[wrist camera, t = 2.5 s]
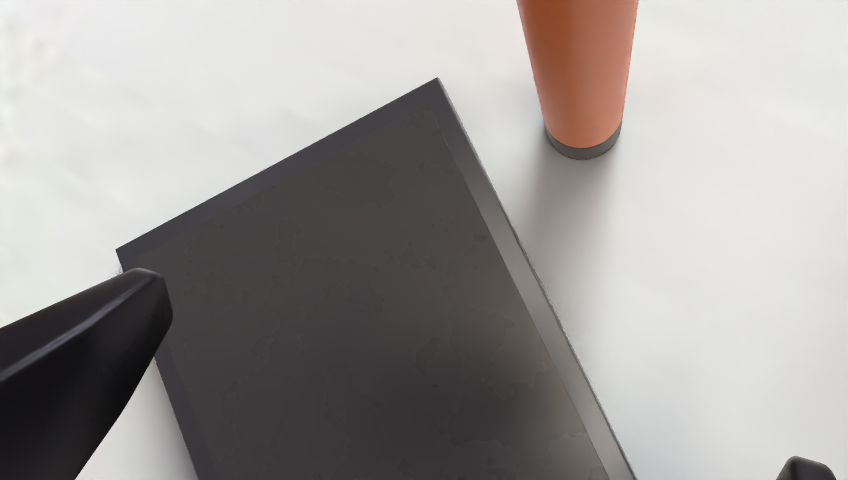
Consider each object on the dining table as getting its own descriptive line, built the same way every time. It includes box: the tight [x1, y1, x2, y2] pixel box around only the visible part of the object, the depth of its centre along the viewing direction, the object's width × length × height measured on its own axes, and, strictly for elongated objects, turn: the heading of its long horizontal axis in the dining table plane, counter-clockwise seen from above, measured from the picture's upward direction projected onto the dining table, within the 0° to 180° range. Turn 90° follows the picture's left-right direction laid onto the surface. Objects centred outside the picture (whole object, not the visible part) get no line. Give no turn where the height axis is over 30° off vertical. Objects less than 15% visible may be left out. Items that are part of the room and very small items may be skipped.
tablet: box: [116, 77, 637, 480], centre depth 24 cm, size 20×13×1 cm, turn 25°
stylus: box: [517, 0, 638, 160], centre depth 18 cm, size 2×2×13 cm
